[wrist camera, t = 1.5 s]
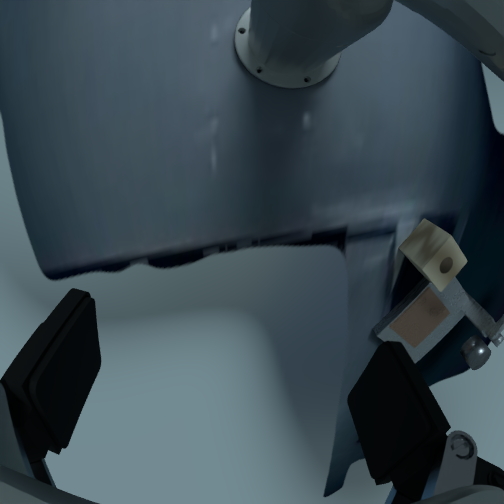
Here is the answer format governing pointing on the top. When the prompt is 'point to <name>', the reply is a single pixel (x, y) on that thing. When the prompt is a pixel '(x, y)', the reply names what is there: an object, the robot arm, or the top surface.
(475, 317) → the press
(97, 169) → the top surface
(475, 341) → the press lever
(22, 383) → the robot arm
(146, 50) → the top surface
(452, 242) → the maple block
